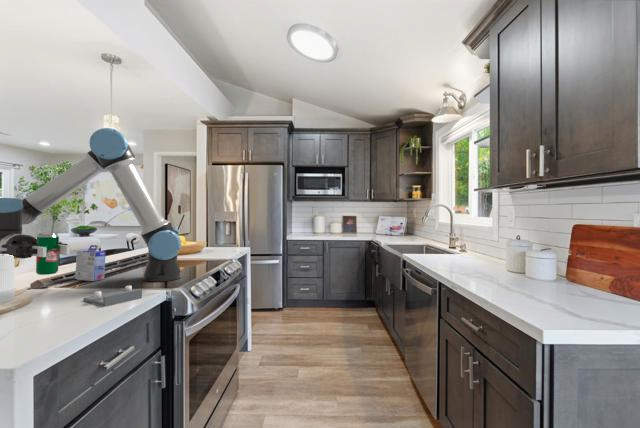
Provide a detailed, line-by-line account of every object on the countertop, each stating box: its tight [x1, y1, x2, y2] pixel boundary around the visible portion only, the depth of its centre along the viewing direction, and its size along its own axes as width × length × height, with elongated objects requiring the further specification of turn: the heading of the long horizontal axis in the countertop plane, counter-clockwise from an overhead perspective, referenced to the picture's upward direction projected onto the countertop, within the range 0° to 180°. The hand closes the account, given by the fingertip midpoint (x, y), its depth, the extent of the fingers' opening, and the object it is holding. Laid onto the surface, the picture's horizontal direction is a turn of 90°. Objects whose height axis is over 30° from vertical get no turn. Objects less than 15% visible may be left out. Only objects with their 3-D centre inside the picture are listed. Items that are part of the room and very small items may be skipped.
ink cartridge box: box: [74, 244, 106, 282], centre depth 137 cm, size 10×6×14 cm, turn 78°
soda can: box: [35, 232, 60, 276], centre depth 96 cm, size 5×5×12 cm
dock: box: [83, 285, 143, 307], centre depth 107 cm, size 12×12×4 cm
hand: (56, 251), depth 93 cm, fingers closed on soda can, 5 cm apart
